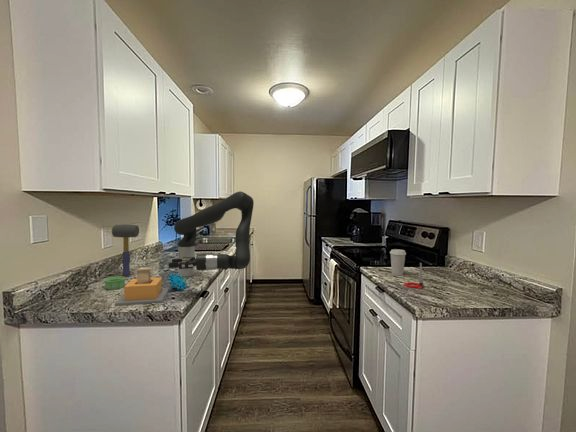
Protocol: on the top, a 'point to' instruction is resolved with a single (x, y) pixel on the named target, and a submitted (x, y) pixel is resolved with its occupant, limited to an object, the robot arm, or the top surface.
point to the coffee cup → (397, 261)
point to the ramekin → (114, 282)
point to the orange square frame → (143, 293)
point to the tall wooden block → (144, 276)
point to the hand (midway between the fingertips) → (170, 263)
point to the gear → (177, 281)
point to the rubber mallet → (125, 243)
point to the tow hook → (416, 283)
